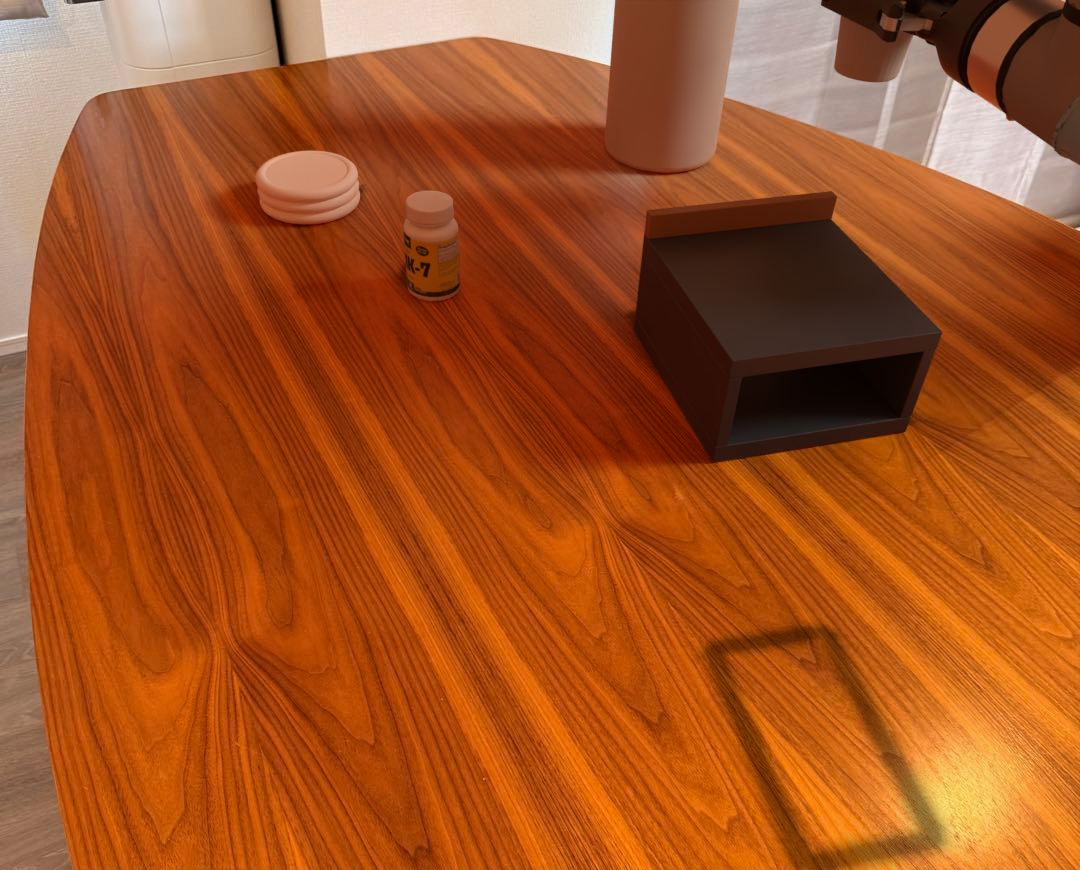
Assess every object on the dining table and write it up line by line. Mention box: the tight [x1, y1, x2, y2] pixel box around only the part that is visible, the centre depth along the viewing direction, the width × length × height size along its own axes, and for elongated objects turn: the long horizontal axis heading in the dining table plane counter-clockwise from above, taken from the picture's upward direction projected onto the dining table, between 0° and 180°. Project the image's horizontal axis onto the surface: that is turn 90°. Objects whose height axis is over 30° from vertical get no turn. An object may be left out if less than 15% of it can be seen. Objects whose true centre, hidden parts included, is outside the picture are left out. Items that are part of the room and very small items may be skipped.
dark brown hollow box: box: [633, 190, 944, 463], centre depth 75 cm, size 18×16×11 cm
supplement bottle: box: [402, 189, 461, 302], centre depth 85 cm, size 5×5×8 cm
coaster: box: [254, 150, 361, 226], centre depth 97 cm, size 10×10×4 cm
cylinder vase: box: [604, 0, 740, 174], centre depth 101 cm, size 12×12×25 cm
